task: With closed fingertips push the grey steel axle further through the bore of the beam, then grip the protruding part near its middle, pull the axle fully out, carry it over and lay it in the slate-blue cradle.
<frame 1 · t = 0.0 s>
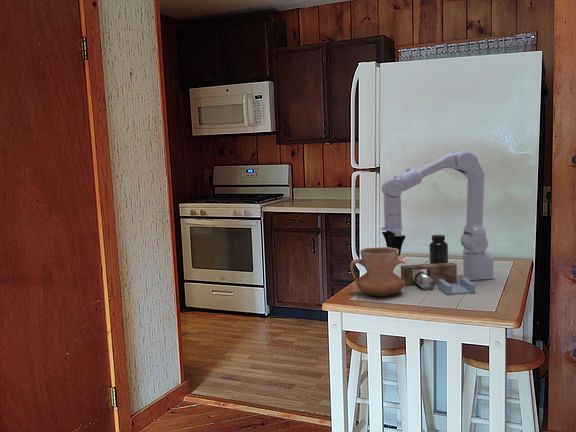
hand: (393, 253, 188), 10 cm above the table, tool pointing down, fingers open, 7 cm apart
beam: (428, 282, 186), on the table
axle: (420, 278, 185), point 2 cm above the table
supplement bottle: (439, 266, 210), on the table
cradle: (456, 290, 175), on the table
ceramic jug: (379, 293, 177), on the table
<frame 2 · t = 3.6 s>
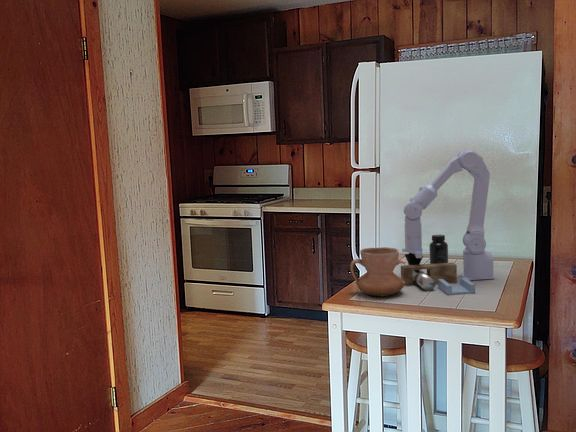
hand: (414, 274, 193), 1 cm above the table, tool pointing down, fingers closed
axle: (421, 278, 184), point 2 cm above the table, touching gripper
everything else where it was.
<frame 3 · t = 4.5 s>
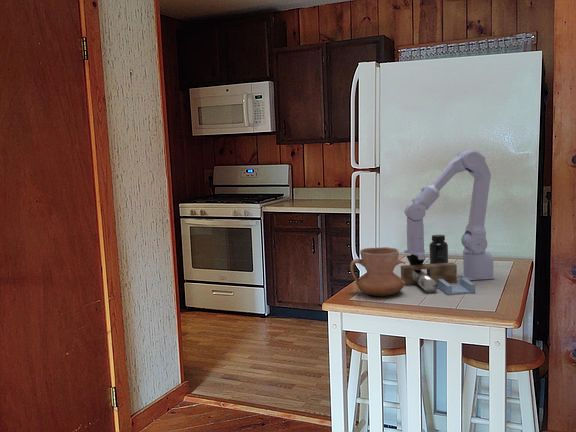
hand: (416, 276, 191), 1 cm above the table, tool pointing down, fingers closed
axle: (423, 280, 181), point 2 cm above the table, tilted 5°, touching gripper
everything else where it was.
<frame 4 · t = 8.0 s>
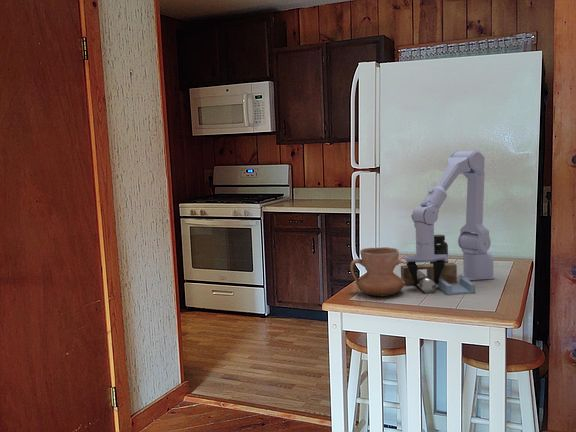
hand: (425, 283, 179), 2 cm above the table, tool pointing down, fingers open, 6 cm apart
axle: (422, 281, 181), point 2 cm above the table, tilted 19°
everything else where it was.
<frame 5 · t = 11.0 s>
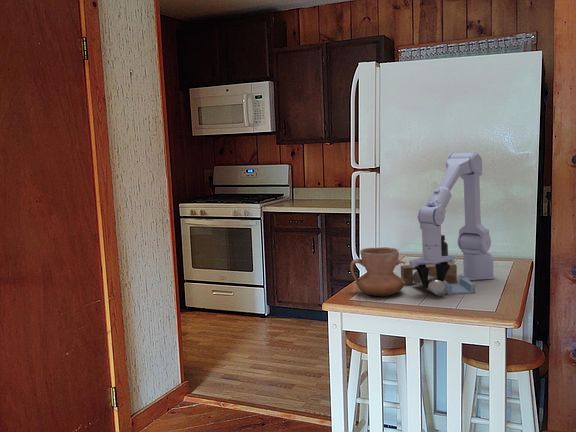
hand: (432, 287, 172), 2 cm above the table, tool pointing down, fingers closed on axle, 4 cm apart
axle: (429, 282, 174), point 3 cm above the table, touching gripper
everything else where it was.
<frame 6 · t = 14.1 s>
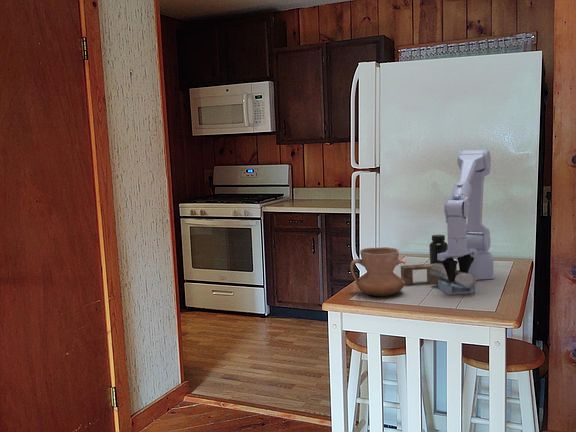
hand: (457, 279, 173), 4 cm above the table, tool pointing down, fingers closed on axle, 4 cm apart
axle: (452, 275, 175), point 5 cm above the table, touching cradle, gripper
everything else where it was.
when the fingers open (4 cm above the table, at t = 14.2 s): axle drops 1 cm, resting on cradle.
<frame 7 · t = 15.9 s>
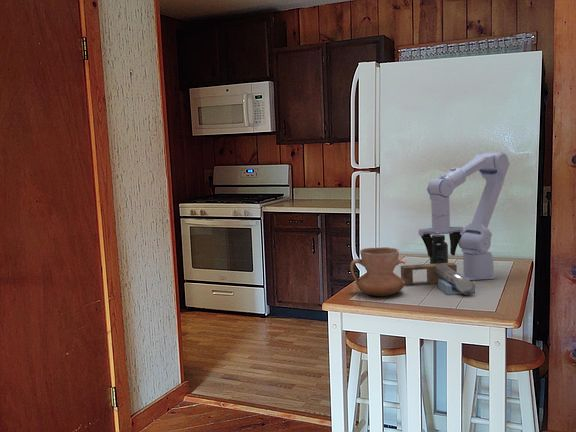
hand: (441, 255, 182), 10 cm above the table, tool pointing down, fingers open, 7 cm apart
axle: (454, 278, 175), point 4 cm above the table, tilted 17°, touching cradle
everything else where it was.
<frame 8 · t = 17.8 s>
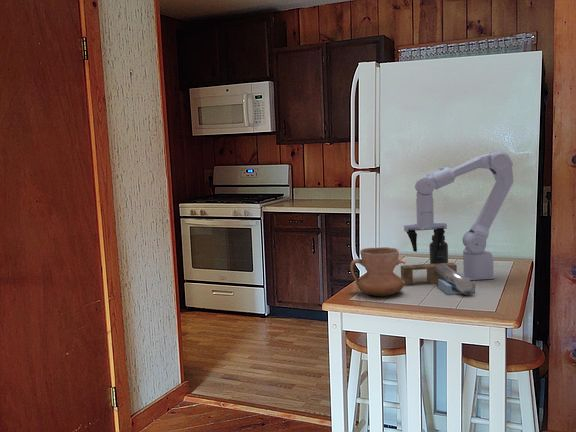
hand: (425, 250, 191), 10 cm above the table, tool pointing down, fingers open, 7 cm apart
nothing on the table moved.
at the end: axle inside the target area on the cradle (0.6 cm from its centre), point 3.7 cm above the cradle's base; the gripper is holding nothing; axle touching cradle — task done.
